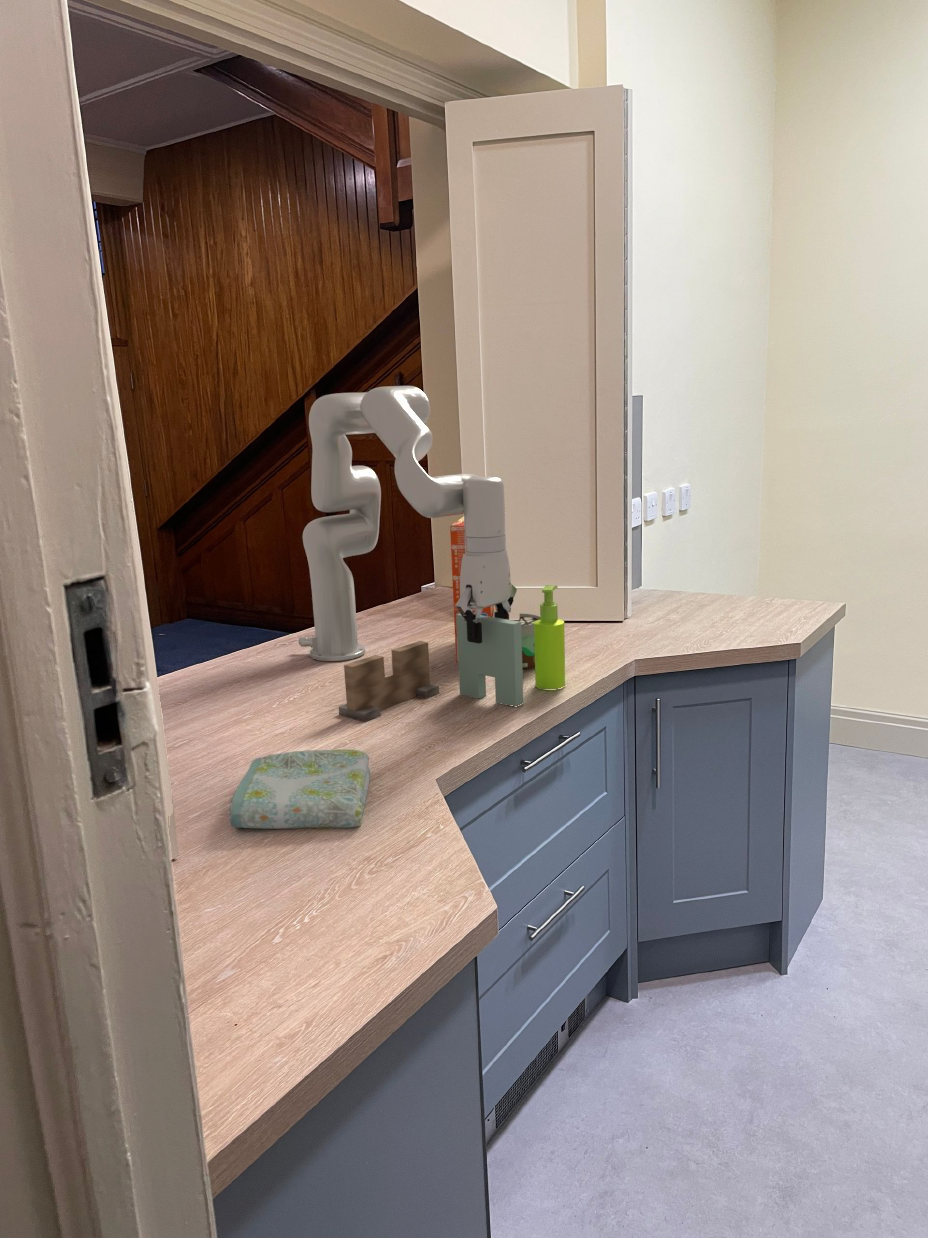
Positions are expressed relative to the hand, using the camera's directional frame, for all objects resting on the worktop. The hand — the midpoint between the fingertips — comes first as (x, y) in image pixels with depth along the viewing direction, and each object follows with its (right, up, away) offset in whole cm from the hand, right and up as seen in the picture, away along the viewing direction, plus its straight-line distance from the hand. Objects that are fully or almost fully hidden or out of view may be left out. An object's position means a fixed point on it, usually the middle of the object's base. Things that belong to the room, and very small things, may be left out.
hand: (488, 636), depth 178 cm
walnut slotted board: (-19, -13, +3) cm, 23 cm away
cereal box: (0, -4, +38) cm, 39 cm away
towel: (-28, -24, -39) cm, 53 cm away
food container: (+10, -7, +24) cm, 27 cm away
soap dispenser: (+13, -10, +10) cm, 19 cm away
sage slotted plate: (+1, -12, +3) cm, 12 cm away
